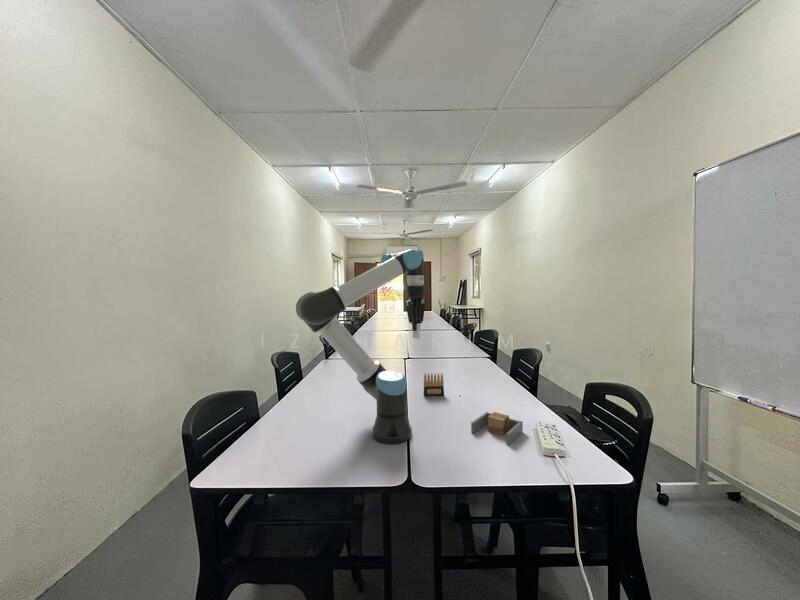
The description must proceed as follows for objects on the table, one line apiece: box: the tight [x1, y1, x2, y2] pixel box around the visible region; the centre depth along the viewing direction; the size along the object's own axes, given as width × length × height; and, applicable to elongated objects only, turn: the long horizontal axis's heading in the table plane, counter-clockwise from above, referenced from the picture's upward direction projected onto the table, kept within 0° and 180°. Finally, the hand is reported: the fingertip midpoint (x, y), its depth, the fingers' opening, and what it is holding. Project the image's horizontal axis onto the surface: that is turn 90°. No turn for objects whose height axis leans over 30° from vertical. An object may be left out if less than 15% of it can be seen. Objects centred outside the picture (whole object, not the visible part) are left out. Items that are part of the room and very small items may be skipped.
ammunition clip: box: [423, 372, 445, 397], centre depth 160 cm, size 11×2×12 cm, turn 90°
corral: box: [470, 411, 524, 446], centre depth 118 cm, size 13×15×4 cm
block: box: [487, 411, 510, 437], centre depth 119 cm, size 6×6×6 cm
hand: (416, 337), depth 136 cm, fingers closed
